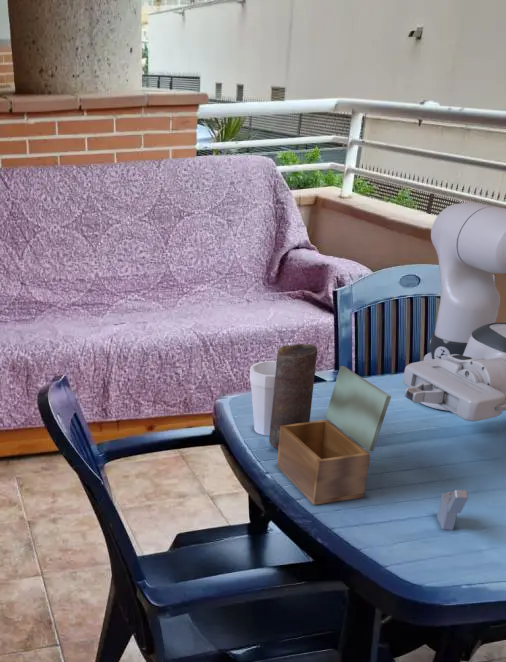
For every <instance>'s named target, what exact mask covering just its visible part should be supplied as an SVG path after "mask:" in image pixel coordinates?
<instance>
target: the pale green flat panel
mask: <svg viewBox="0 0 506 662" xmlns="http://www.w3.org/2000/svg"><path fill="white" fill-rule="evenodd" d="M391 398H392V395H390V394H388V393H387V392H385V391H384V390H382V389H381V388H379V387H378V386H376V385H375V384H373V383H371V382H370V381H368V380H366V379H365V378H364V377H362V376H360V374H359V375H358V374H357V373H355V372H354V371H352V370H351V369H350V368H348V367H346V366H345V365H340V366H339V369H338V373H337V375H336V378H335V383H334V386H333V390H332V393H331V396H330V400H329V402H328V403H329V404H328V408H327V411H326V414H325V418H326V419H327V420H328V421H330V422H331V423H332V424H333V425H335V426H336V427H337V428H338V429H340V430H341V431H342V432H343V433H345V434H346V435H347V436H348V437H350V438H351V439H352V440H353V441H355V442H356V443H357V444H358V445H360V446H361V447H362V448H363V449H365V450H366V451H367V452H372V453H373V452H374V450H375V447H376V445H377V441H378V439H379V436H380V432H381V429H382V425H383V423H384V421H385V417H386V414H387V411H388V408H389V404H390V401H391Z"/></svg>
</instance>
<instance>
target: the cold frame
mask: <svg viewBox="0 0 506 662" xmlns="http://www.w3.org/2000/svg"><path fill="white" fill-rule="evenodd" d="M370 458H371V453H370V452H369V451H368V450H367V449H365V448H364V447H363V446H362V445H360V444H359V443H358V442H357V441H355V440H354V439H353V438H352V437H350V436H349V435H348V434H346V433H345V432H344V431H343V430H341V429H340V428H339V427H338V426H336V425H335V424H334V423H333V422H331V421H330V420H329V419H321V420H313V421H310V422H305V423H297V424H290V425H283V426H280V434H279V446H278V449H277V459H276V467H277V468H278V469H279V470H280V472H282V473H283V474H284V475H285V477H286V478H287V479H288V480H289V481H290V482H291V483H292V484H293V485H294V486H295V487H296V489H298V490H299V491H300V492H301V493H302V495H304V496H305V498H307V499H308V500H309V501H310V503H312V504H313V506H318V505H323V504H324V505H325V504H330V503H336V502H343V501H348V500H357V499H362V498H365V491H366V486H367V481H368V473H369V466H370Z"/></svg>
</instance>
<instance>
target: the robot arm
mask: <svg viewBox="0 0 506 662" xmlns="http://www.w3.org/2000/svg"><path fill="white" fill-rule="evenodd" d="M430 229H431V230H430V239H431V243H432V245H433V247H434V249H435V252H436V255H437V259H438V260H437V261H438V267H439V277H440V279H439V280H440V298H439V305H438V311H437V316H436V317H437V318H436V323H435V328H434V329H435V330H434V332H432V334H431V338H430V340H429V348H428V351H429V352H427V354H425V355H424V357H423V360H420V361H416V362H411V363H409V364H407V365H406V366H405V368H404V372H403V378H402V383H403V385H404V386H407V387H406V388H405V391H404V397H405V399H408V400H410V401H412V402H413V403H414V404H419V403H420V404H421V405H424V406H426V407H429V408H432V409H436V410H441V411H448V412H451V413H453V414H454V415H456V416H457V417H459V418H461V419H463V420H464V421H467V422H479V421H483V420H488V419H493V418H496V417H498V416H500V415H502V413H503V412H506V322H497V318H498V315H499V314H498V313H499V309H500V306H501V305H500V304H501V296H500V293H499V291H498V289H497V287H496V284H495V280H494V274H506V208H503V207H498V206H495V205H494V206H493V205H489V204H485V203H480V202H476V201H475V202H474V201H468V202H461V203H454V204H451V205H449V206H447V207H445V208H444V209H442V210H441V212H440V213H438V214H437V216H436V218H435V219H434V221H433V223H432V226H431V228H430Z"/></svg>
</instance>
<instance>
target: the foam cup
mask: <svg viewBox="0 0 506 662" xmlns="http://www.w3.org/2000/svg"><path fill="white" fill-rule="evenodd" d="M276 362H277V360H265V361H259V362H256V363H253V364H252V365H251V366H250V368H249V382H250V390H251V401H252V403H251V404H252V416H253V417H252V418H253V428H254V432H256V433H257V434H259V435H263V436H268V437H269V436H270V425H271V416H272V405H273V396H274V384H275V373H276Z"/></svg>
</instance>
